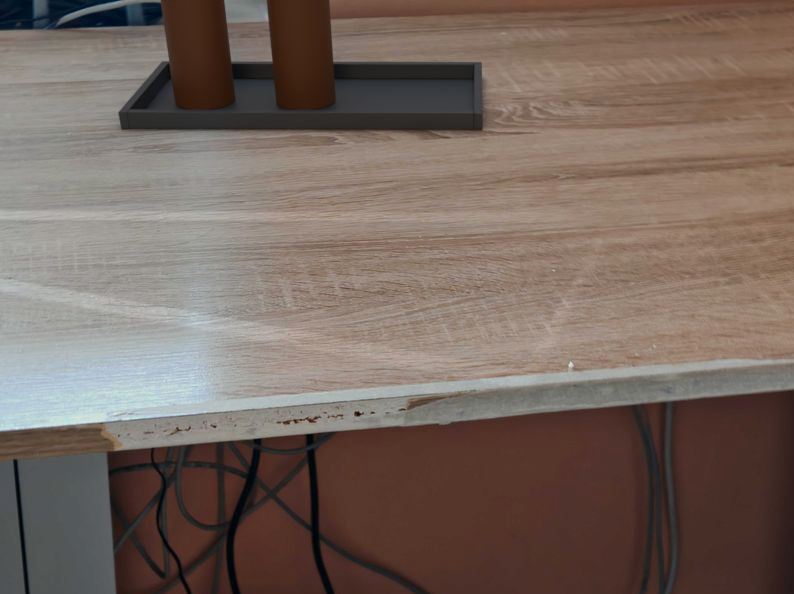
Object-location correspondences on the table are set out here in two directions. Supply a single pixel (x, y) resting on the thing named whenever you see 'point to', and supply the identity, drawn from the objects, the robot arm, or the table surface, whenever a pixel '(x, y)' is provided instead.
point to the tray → (352, 110)
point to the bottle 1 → (199, 53)
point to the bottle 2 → (302, 53)
